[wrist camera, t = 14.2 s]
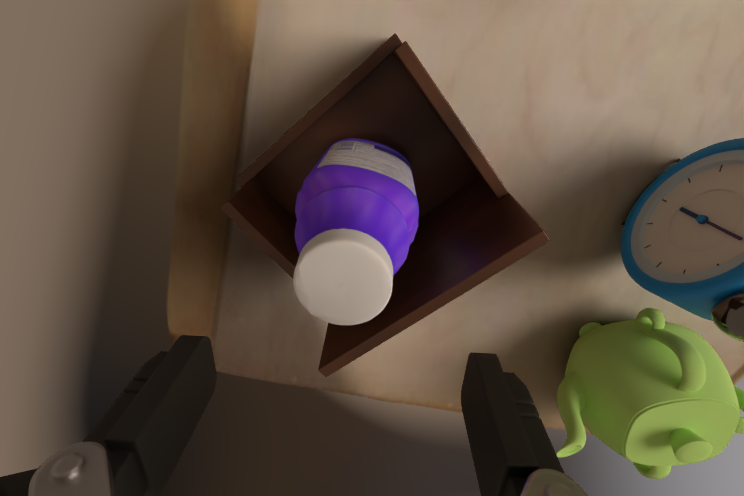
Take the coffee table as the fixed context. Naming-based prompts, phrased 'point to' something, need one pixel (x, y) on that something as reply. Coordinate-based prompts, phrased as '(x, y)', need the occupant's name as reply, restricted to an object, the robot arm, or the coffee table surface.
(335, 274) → the bottle
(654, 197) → the alarm clock
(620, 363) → the teapot
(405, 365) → the coffee table surface
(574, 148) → the coffee table surface
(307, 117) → the box
